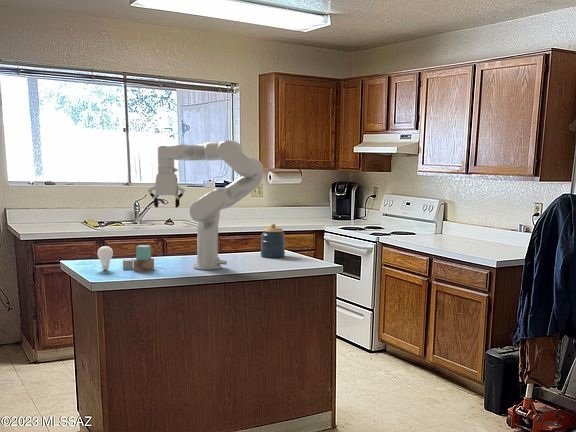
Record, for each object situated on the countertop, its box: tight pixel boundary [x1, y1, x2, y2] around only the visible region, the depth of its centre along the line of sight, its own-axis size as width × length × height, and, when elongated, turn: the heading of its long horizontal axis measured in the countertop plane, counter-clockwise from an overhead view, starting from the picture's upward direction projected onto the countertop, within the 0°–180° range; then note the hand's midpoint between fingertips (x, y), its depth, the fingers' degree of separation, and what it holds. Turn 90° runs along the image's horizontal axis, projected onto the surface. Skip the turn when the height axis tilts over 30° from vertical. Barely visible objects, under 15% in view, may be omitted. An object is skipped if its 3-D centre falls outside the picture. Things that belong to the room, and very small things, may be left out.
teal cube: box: [135, 244, 152, 260], centre depth 237 cm, size 5×5×6 cm
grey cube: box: [122, 258, 134, 270], centre depth 240 cm, size 4×4×4 cm
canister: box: [260, 223, 286, 259], centre depth 281 cm, size 13×13×18 cm
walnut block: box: [133, 257, 155, 273], centre depth 238 cm, size 7×7×5 cm
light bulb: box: [97, 245, 114, 272], centre depth 234 cm, size 7×7×11 cm
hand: (166, 207), depth 249 cm, fingers open, 9 cm apart
